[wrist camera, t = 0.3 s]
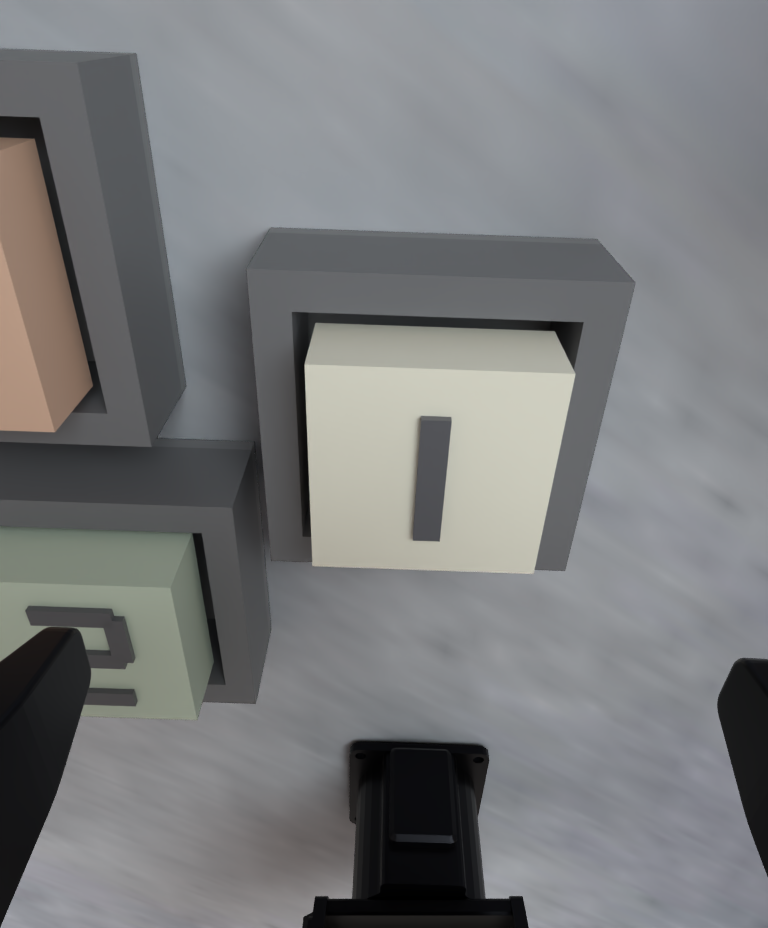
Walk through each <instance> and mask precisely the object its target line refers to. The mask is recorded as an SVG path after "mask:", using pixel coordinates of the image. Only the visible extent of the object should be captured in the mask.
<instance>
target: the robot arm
mask: <svg viewBox="0 0 768 928" xmlns="http://www.w3.org/2000/svg"><path fill="white" fill-rule="evenodd" d="M90 681H91V666H90V663H89V659H88V655H87V652H86V648H85V645H84V641H83V638H82V635H81V632H80V631H79V630H78V629H77V628H73V627H47V628H45V629H43V630H41V631H40V632H39V633H37V634H36V635H35V636H33V637H32V638H31V639H29V640H28V641H27V642H25V643H24V644H23V645H21V646H20V647H19V648H17V649H16V650H15V651H13V652H12V653H11V654H10V655H8V656H7V657H6V658H4V659H3V660H2V661H0V927H1V924H2V922H3V920H4V917H5V915H6V912H7V910H8V908H9V905H10V903H11V901H12V898H13V896H14V894H15V891H16V889H17V887H18V884H19V882H20V879H21V877H22V875H23V872H24V870H25V868H26V865H27V863H28V861H29V858H30V856H31V854H32V851H33V849H34V846H35V844H36V842H37V839H38V837H39V835H40V832H41V830H42V828H43V825H44V823H45V820H46V818H47V816H48V813H49V811H50V808H51V806H52V803H53V801H54V798H55V796H56V793H57V790H58V787H59V784H60V781H61V778H62V775H63V772H64V768H65V765H66V762H67V759H68V755H69V752H70V749H71V745H72V742H73V739H74V735H75V732H76V729H77V726H78V722H79V719H80V716H81V712H82V709H83V706H84V703H85V699H86V696H87V693H88V689H89V686H90ZM717 708H718V715H719V719H720V722H721V726H722V730H723V734H724V737H725V741H726V745H727V749H728V752H729V756H730V760H731V764H732V767H733V771H734V775H735V779H736V782H737V786H738V790H739V794H740V797H741V801H742V805H743V808H744V812H745V815H746V818H747V822H748V825H749V828H750V830H751V833H752V836H753V839H754V842H755V844H756V847H757V850H758V852H759V855H760V858H761V860H762V863H763V866H764V868H765V871H766V873H767V876H768V660H767V659H756V658H740V659H738V660H737V661H736V662H735V663H734V664H733V666H732V668H731V671H730V673H729V675H728V677H727V679H726V681H725V683H724V685H723V687H722V690H721V692H720V694H719V697H718V702H717ZM488 764H489V755H488V750H487V749H486V748H485V747H482V746H464V745H435V744H405V743H376V742H356V743H354V744H352V745H351V747H350V821H351V822H352V823H355V824H356V834H355V853H354V872H353V892H352V899H329V898H328V896H316V897H315V902H314V909H313V912H312V913H310V914H308V915H306V916H305V917H304V919H303V928H529V927H528V922H527V916H526V911H525V906H524V901H523V897H522V896H509V899H486V898H485V888H484V878H483V868H482V858H481V848H480V838H479V827H478V813H479V808H480V803H481V798H482V793H483V788H484V784H485V779H486V774H487V769H488Z"/></svg>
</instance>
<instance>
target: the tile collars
mask: <svg viewBox="0 0 768 928" xmlns="http://www.w3.org/2000/svg"><path fill="white" fill-rule="evenodd" d="M0 137H1V138H29V139H35V143H36V147H37V151H38V155H39V159H40V164H41V168H42V172H43V176H44V181H45V185H46V189H47V193H48V197H49V202H50V206H51V210H52V214H53V218H54V223H55V227H56V231H57V235H58V240H59V244H60V248H61V252H62V256H63V261H64V265H65V269H66V273H67V278H68V282H69V286H70V290H71V294H72V299H73V303H74V307H75V311H76V315H77V320H78V324H79V328H80V332H81V337H82V341H83V345H84V349H85V353H86V358H87V362H88V366H89V370H90V375H91V379H92V383H93V387H92V388H91V389H90V390H89V391H88V393H87V394H86V395H85V396H84V397H83V399H82V400H81V401H80V402H79V404H78V405H77V406H76V407H75V408H74V410H73V411H72V412H71V413H70V415H69V416H68V417H67V418H66V419H65V421H64V422H63V423H62V424H61V426H60V427H59V428H58V429H57V430H56V432H32V431H3V430H0V526H6V527H35V528H63V529H92V530H121V531H150V532H179V533H192V534H193V540H194V546H195V552H196V558H197V564H198V570H199V576H200V582H201V588H202V594H203V600H204V606H205V612H206V618H207V624H208V630H209V636H210V642H211V647H212V653H213V659H214V663H213V667H212V670H211V674H210V677H209V681H208V684H207V688H206V691H205V695H204V698H203V702H219V703H248V704H256V701H257V696H258V691H259V686H260V682H261V677H262V672H263V667H264V662H265V657H266V652H267V648H268V643H269V638H270V633H271V618H270V607H269V596H268V585H267V575H266V564H265V553H264V542H263V531H262V520H261V509H260V498H259V487H258V477H257V466H256V455H255V444H254V442H248V441H219V440H190V439H162V438H157V437H158V435H159V433H160V431H161V430H162V428H163V426H164V424H165V423H166V421H167V419H168V417H169V416H170V414H171V412H172V410H173V409H174V407H175V405H176V403H177V401H178V400H179V398H180V396H181V394H182V393H183V391H184V389H185V387H186V381H185V374H184V368H183V361H182V354H181V348H180V341H179V334H178V328H177V321H176V314H175V308H174V301H173V294H172V288H171V281H170V274H169V268H168V261H167V254H166V248H165V241H164V235H163V228H162V221H161V215H160V208H159V201H158V195H157V188H156V181H155V175H154V168H153V161H152V155H151V148H150V141H149V135H148V128H147V122H146V115H145V108H144V102H143V95H142V88H141V82H140V75H139V68H138V62H137V55H136V53H110V52H83V51H55V50H27V49H0ZM246 272H247V284H248V295H249V307H250V319H251V331H252V342H253V354H254V366H255V378H256V389H257V401H258V413H259V424H260V436H261V448H262V460H263V471H264V483H265V495H266V507H267V518H268V530H269V542H270V553H271V561H292V562H312V542H311V516H310V491H309V466H308V440H307V415H306V390H305V361H306V357H307V353H308V349H309V346H310V342H311V338H312V334H313V331H314V327H315V323H336V324H364V325H392V326H421V327H449V328H477V329H505V330H534V331H555V333H556V335H557V337H558V339H559V341H560V343H561V345H562V347H563V349H564V351H565V353H566V355H567V358H568V360H569V362H570V364H571V366H572V368H573V370H574V372H575V379H574V384H573V389H572V393H571V398H570V403H569V408H568V412H567V417H566V422H565V427H564V432H563V436H562V441H561V446H560V451H559V455H558V460H557V465H556V470H555V474H554V479H553V484H552V489H551V493H550V498H549V503H548V508H547V513H546V517H545V522H544V527H543V532H542V536H541V541H540V546H539V551H538V555H537V560H536V565H535V570H552V571H565V569H566V565H567V561H568V557H569V553H570V549H571V545H572V541H573V537H574V533H575V529H576V524H577V520H578V516H579V512H580V508H581V504H582V500H583V496H584V492H585V488H586V484H587V479H588V475H589V471H590V467H591V463H592V459H593V455H594V451H595V447H596V443H597V439H598V435H599V430H600V426H601V422H602V418H603V414H604V410H605V406H606V402H607V398H608V394H609V390H610V385H611V381H612V377H613V373H614V369H615V365H616V361H617V357H618V353H619V349H620V345H621V341H622V336H623V332H624V328H625V324H626V320H627V316H628V312H629V308H630V304H631V300H632V296H633V292H634V287H635V281H634V280H633V279H632V278H631V277H630V276H629V275H628V274H627V272H626V271H625V270H624V269H623V268H622V267H621V266H620V264H619V263H618V262H617V261H616V260H615V259H614V258H613V256H612V255H611V254H610V253H609V252H608V251H607V250H606V249H605V247H604V246H603V245H602V244H601V243H600V242H599V241H598V239H578V238H550V237H522V236H494V235H466V234H438V233H410V232H382V231H354V230H326V229H298V228H270V230H269V231H268V233H267V235H266V236H265V238H264V240H263V242H262V243H261V245H260V247H259V248H258V250H257V252H256V253H255V255H254V257H253V258H252V260H251V262H250V263H249V265H248V267H247V268H246Z"/></svg>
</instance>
